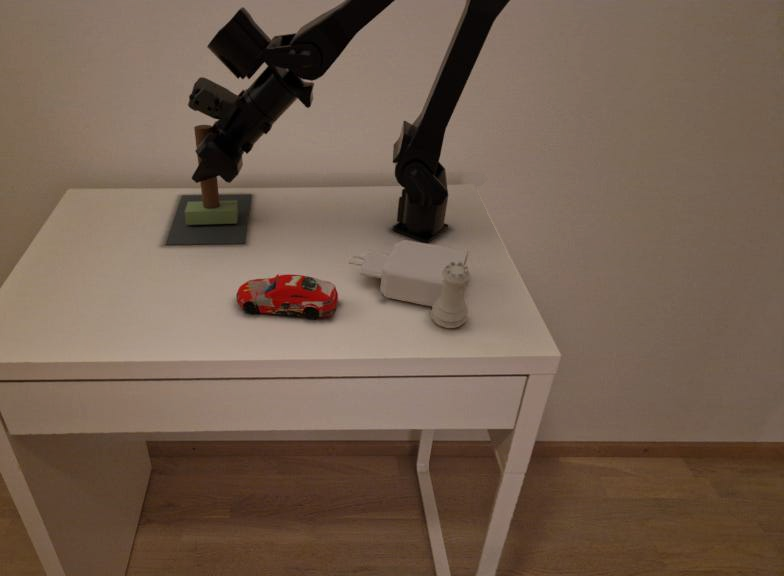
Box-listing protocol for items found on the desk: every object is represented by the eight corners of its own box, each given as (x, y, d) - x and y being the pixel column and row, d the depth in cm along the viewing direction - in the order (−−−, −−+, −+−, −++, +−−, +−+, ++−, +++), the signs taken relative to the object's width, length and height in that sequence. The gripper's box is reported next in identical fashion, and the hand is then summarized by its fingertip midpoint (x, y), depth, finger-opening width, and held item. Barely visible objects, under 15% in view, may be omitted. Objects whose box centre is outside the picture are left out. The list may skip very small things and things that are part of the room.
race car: (232, 313, 76) (229, 287, 74) (243, 290, 80) (240, 265, 78) (333, 323, 74) (334, 297, 72) (339, 299, 78) (340, 273, 76)
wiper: (238, 213, 97) (231, 122, 89) (237, 223, 93) (229, 129, 85) (189, 214, 97) (177, 123, 89) (186, 225, 93) (173, 131, 85)
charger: (360, 258, 86) (463, 277, 82) (339, 291, 80) (451, 314, 75) (361, 228, 83) (469, 247, 79) (340, 260, 77) (457, 282, 72)
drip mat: (244, 244, 90) (244, 242, 90) (165, 245, 90) (165, 243, 90) (251, 195, 103) (251, 194, 103) (182, 196, 103) (181, 195, 103)
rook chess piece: (427, 307, 76) (433, 257, 70) (461, 304, 76) (471, 254, 70) (434, 331, 73) (442, 281, 67) (470, 328, 73) (481, 278, 67)
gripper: (233, 43, 87) (172, 117, 96) (202, 78, 73) (133, 162, 81) (287, 100, 92) (224, 167, 100) (268, 143, 78) (196, 217, 86)
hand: (196, 176), depth 92 cm, fingers closed on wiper, 2 cm apart
